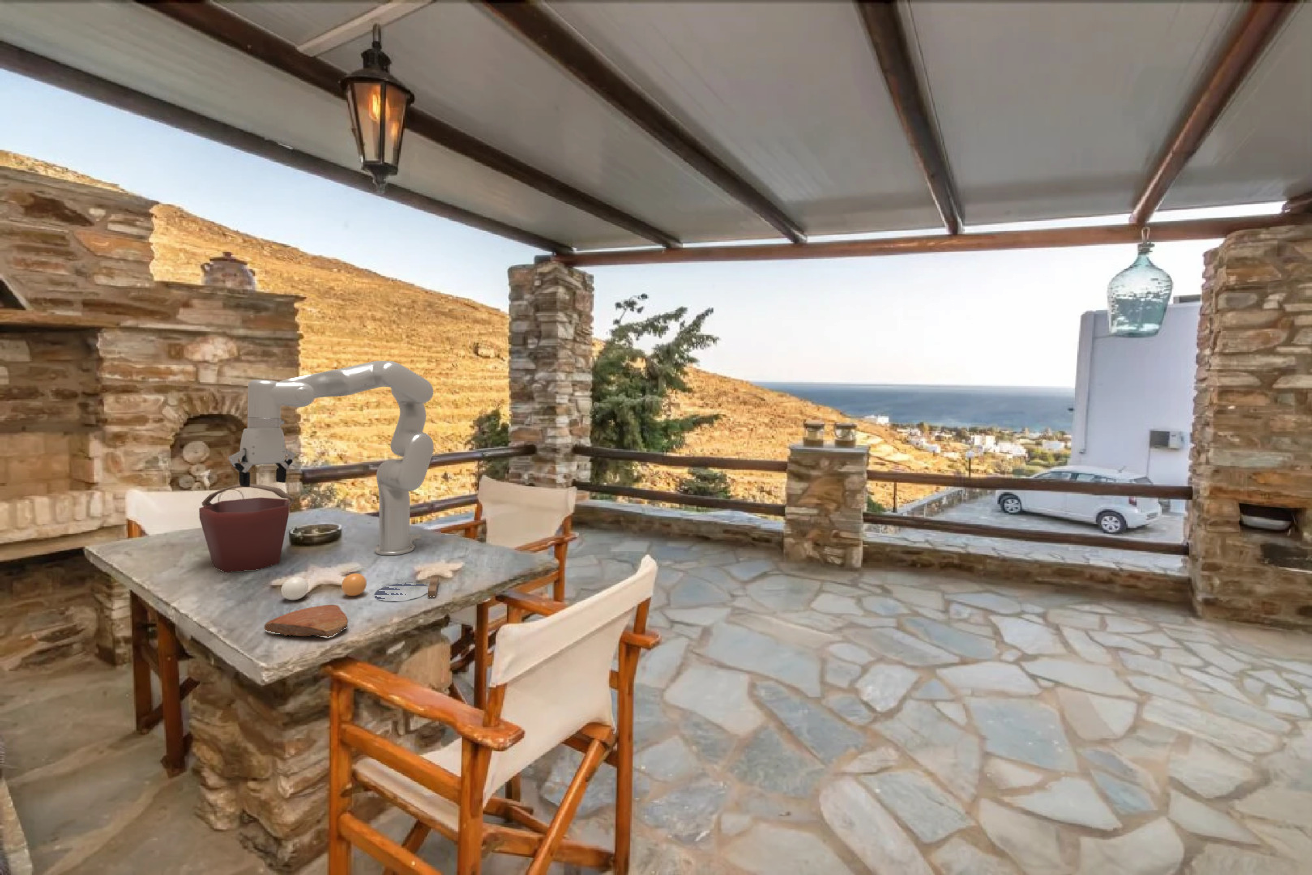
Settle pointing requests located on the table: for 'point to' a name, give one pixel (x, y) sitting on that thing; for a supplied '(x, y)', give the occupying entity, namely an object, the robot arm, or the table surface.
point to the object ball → (354, 584)
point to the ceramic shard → (310, 622)
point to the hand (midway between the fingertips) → (263, 484)
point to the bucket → (245, 529)
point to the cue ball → (294, 588)
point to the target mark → (393, 589)
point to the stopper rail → (433, 586)
